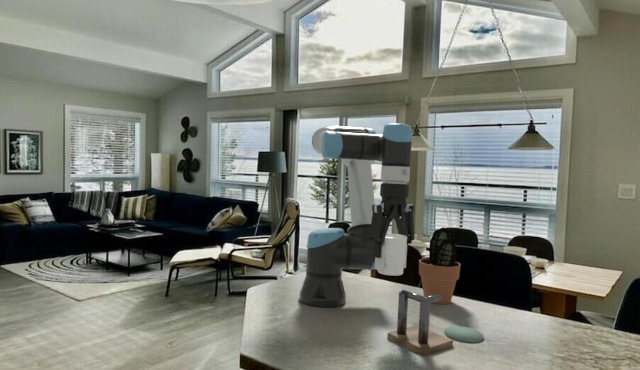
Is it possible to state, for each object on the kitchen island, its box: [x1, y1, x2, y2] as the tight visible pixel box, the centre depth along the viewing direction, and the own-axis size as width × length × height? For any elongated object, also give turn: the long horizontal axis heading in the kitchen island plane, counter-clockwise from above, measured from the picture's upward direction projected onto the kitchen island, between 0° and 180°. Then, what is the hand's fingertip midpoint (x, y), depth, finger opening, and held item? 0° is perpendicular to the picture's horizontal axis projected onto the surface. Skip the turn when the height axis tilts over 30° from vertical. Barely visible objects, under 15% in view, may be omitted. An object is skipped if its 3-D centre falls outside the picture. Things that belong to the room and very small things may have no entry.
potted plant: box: [418, 227, 461, 305], centre depth 149 cm, size 14×14×25 cm
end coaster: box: [443, 325, 484, 344], centre depth 118 cm, size 10×10×1 cm
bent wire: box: [396, 289, 441, 345], centre depth 112 cm, size 9×7×11 cm
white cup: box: [377, 232, 407, 277], centre depth 116 cm, size 8×8×10 cm
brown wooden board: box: [387, 324, 454, 356], centre depth 112 cm, size 12×11×2 cm
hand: (390, 268), depth 116 cm, fingers closed on white cup, 8 cm apart
